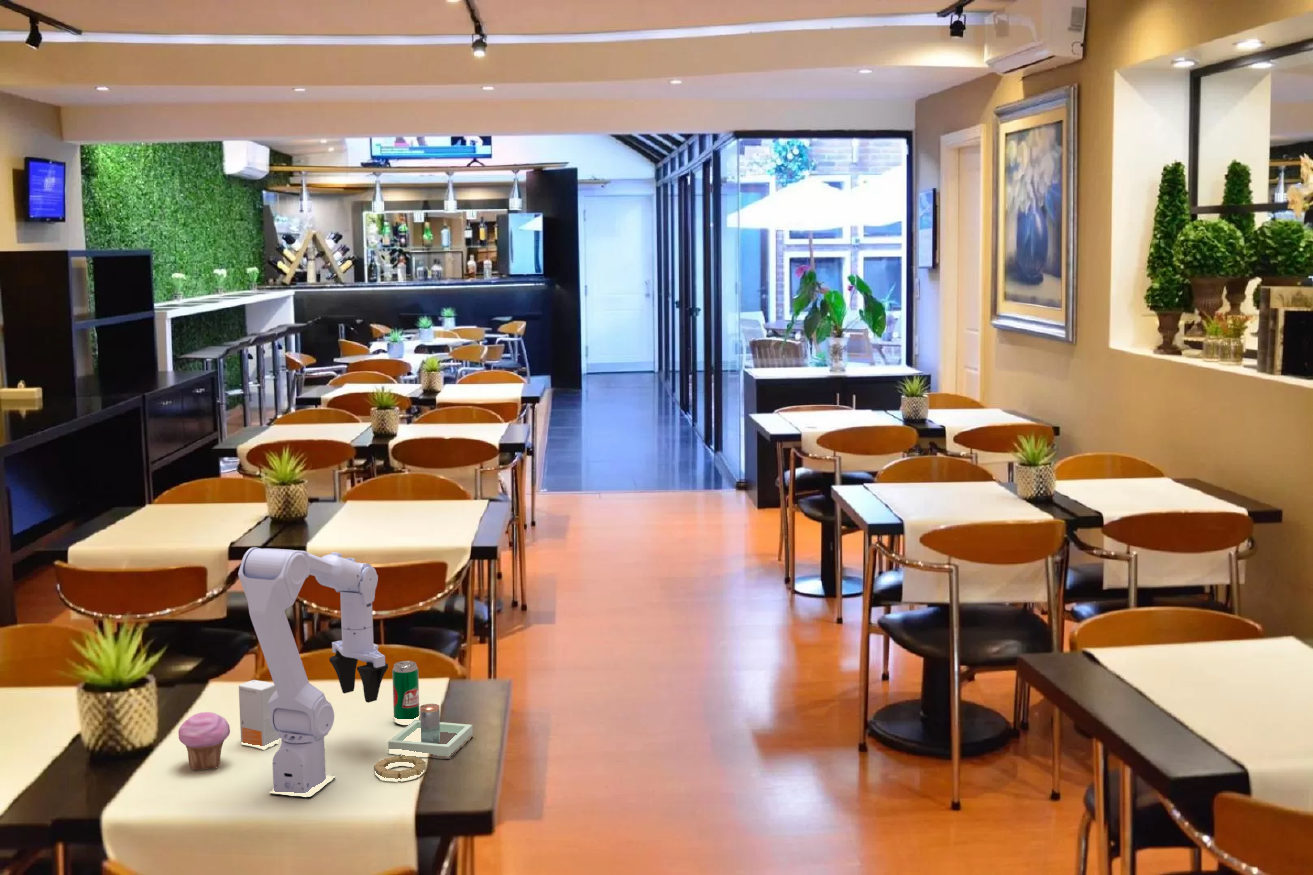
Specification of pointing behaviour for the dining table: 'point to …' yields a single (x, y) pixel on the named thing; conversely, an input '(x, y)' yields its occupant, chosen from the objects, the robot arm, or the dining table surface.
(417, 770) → the collar
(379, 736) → the dining table surface
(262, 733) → the skincare box
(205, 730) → the cupcake
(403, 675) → the soda can
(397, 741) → the mint green square frame
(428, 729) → the grey copper-topped cylinder
